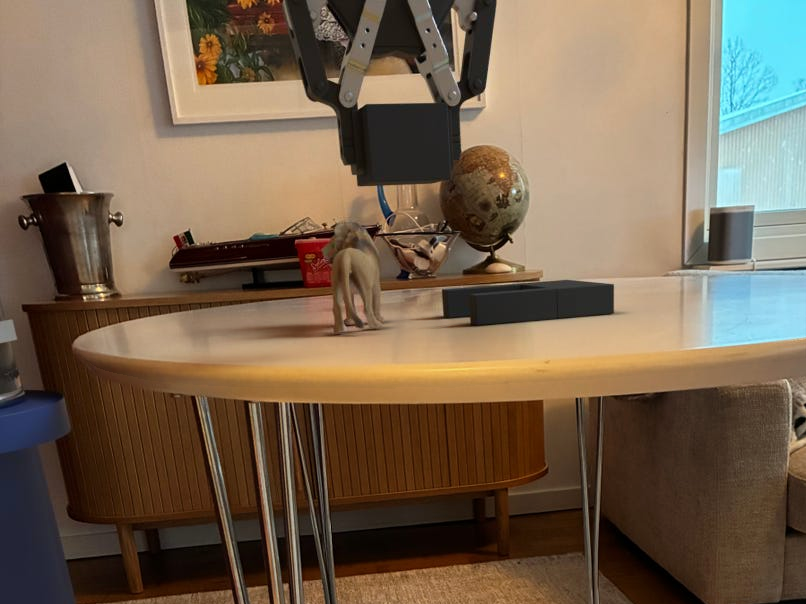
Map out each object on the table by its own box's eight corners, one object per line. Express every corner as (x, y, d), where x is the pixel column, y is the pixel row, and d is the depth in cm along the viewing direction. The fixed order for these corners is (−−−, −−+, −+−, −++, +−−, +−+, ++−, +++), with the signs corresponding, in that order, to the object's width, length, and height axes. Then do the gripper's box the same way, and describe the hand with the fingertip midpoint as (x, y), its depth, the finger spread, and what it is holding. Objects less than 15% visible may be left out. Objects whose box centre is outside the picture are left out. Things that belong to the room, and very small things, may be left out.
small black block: (371, 182, 62) (365, 103, 61) (357, 186, 67) (350, 113, 65) (451, 179, 64) (447, 102, 62) (431, 183, 69) (427, 112, 67)
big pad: (476, 325, 83) (474, 295, 82) (443, 316, 93) (441, 289, 92) (614, 313, 86) (614, 284, 85) (568, 306, 96) (567, 279, 95)
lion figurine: (328, 322, 94) (317, 222, 90) (383, 318, 95) (374, 219, 91) (333, 337, 80) (320, 220, 77) (396, 332, 81) (386, 216, 78)
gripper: (475, -111, 64) (486, 172, 70) (256, -120, 60) (289, 179, 67) (511, -152, 57) (519, 165, 64) (267, -165, 53) (303, 172, 60)
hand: (402, 171), depth 65 cm, fingers closed on small black block, 5 cm apart
